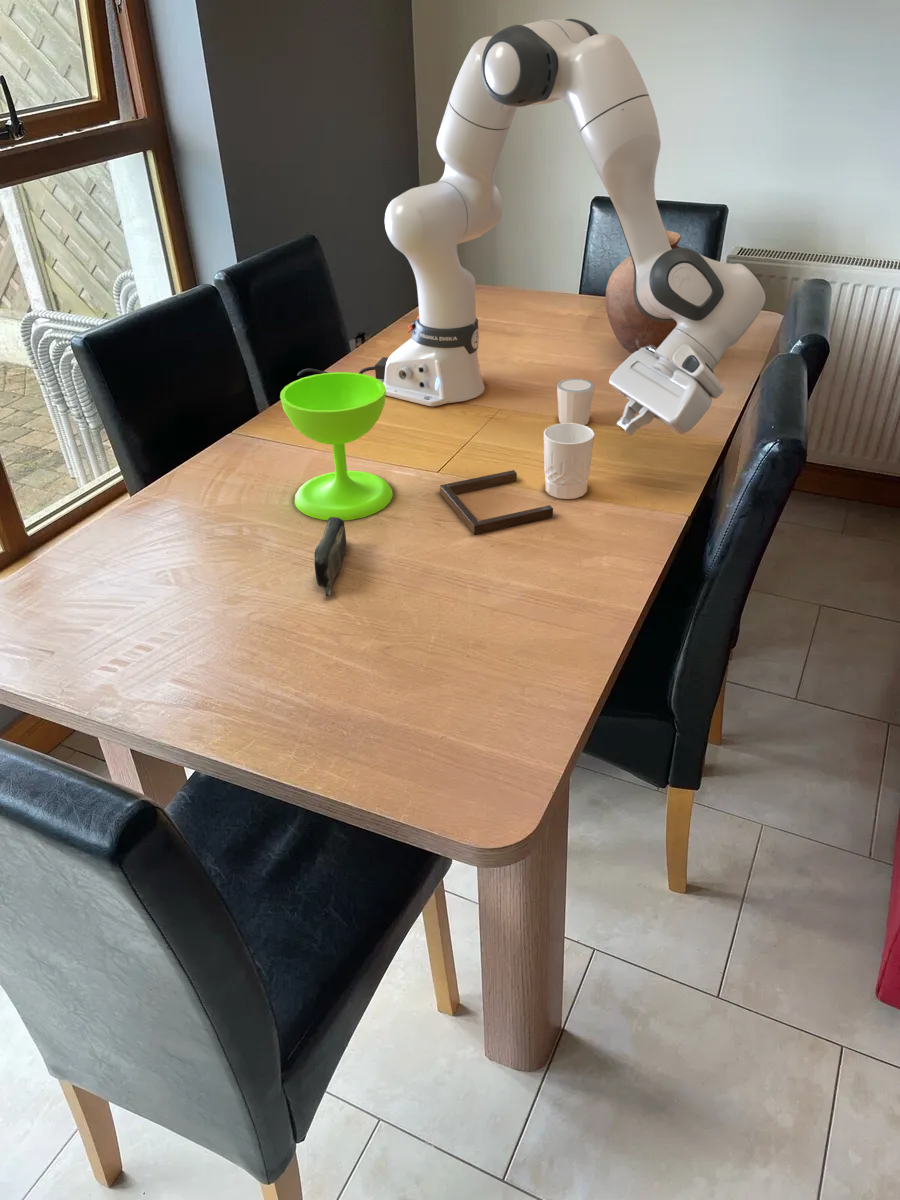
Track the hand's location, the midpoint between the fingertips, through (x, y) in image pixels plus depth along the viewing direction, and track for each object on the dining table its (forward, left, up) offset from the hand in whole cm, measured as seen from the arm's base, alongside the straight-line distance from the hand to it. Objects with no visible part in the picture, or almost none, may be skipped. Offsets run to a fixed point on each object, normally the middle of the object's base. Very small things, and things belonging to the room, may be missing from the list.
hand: (623, 430), depth 147 cm
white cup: (-7, -7, -9) cm, 13 cm away
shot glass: (-14, +20, -9) cm, 26 cm away
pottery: (-8, +60, -9) cm, 61 cm away
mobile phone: (-31, -42, -9) cm, 53 cm away
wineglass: (-40, -22, -9) cm, 46 cm away
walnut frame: (-15, -15, -9) cm, 23 cm away
